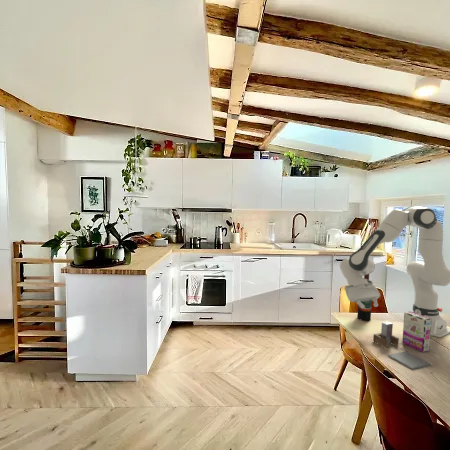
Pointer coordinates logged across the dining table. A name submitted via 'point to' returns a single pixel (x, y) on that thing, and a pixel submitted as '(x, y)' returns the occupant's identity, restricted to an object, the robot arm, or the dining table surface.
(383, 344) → the holder
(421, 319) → the candy bar box
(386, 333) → the gray rectangular block
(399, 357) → the coaster
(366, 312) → the wine bottle
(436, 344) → the dining table surface
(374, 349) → the dining table surface
